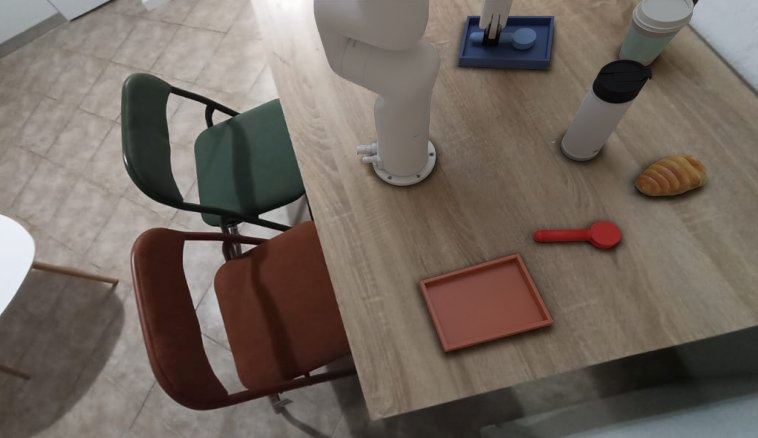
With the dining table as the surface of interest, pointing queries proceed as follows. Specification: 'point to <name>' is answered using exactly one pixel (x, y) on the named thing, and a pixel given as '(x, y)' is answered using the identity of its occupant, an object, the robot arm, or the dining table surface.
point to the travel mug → (604, 107)
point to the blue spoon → (511, 38)
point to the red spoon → (584, 234)
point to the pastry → (672, 176)
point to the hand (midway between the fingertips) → (490, 39)
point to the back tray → (509, 45)
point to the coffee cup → (654, 28)
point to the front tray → (484, 303)
